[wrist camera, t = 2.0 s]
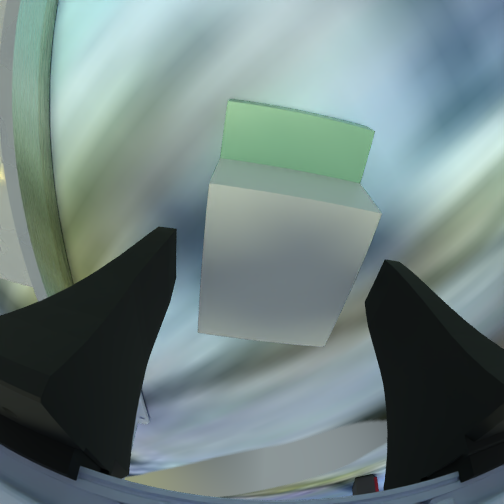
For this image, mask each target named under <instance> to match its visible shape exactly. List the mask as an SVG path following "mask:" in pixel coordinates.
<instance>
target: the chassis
mask: <svg viewBox="0 0 504 504" xmlns="http://www.w3.org/2000/svg"><path fill="white" fill-rule="evenodd" d="M57 5H58V0H0V278H2V279H5V280H9V281H12V282H16V283H19V284H23V285H26V286H30V287H33V289H34V292H35V294H36V297H37V300H38V302H39V301H41V300H43V299H46V298H48V297H50V296H52V295H54V294H56V293H58V292H60V291H62V290H64V289H66V288H68V287H70V286H72V285H73V281H72V277H71V273H70V269H69V265H68V261H67V256H66V252H65V247H64V242H63V237H62V232H61V226H60V221H59V215H58V209H57V202H56V195H55V187H54V178H53V169H52V158H51V143H50V120H49V88H50V65H51V51H52V41H53V32H54V24H55V17H56V11H57Z"/></svg>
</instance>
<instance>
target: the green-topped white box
mask: <svg viewBox="0 0 504 504" xmlns="http://www.w3.org/2000/svg"><path fill="white" fill-rule="evenodd" d="M374 133H375V131H373V130H372V129H370V128H369V127H366V126H363V125H359V124H356V123H352V122H348V121H344V120H340V119H336V118H332V117H328V116H324V115H319V114H315V113H310V112H306V111H301V110H296V109H291V108H286V107H280V106H275V105H269V104H263V103H256V102H250V101H243V100H235V99H230V100H229V101H228V104H227V111H226V118H225V125H224V132H223V140H222V147H221V155H220V159H219V162H218V164H217V166H216V169H215V171H214V173H213V176H212V178H211V180H210V183H209V190H208V200H207V210H206V221H205V232H204V244H203V256H202V270H201V284H200V300H199V317H198V333H203V334H210V335H217V336H224V337H231V338H239V339H247V340H255V341H264V342H273V343H283V344H293V345H305V346H317V347H324V346H325V344H326V342H327V340H328V338H329V336H330V334H331V332H332V329H333V327H334V325H335V323H336V321H337V319H338V317H339V315H340V313H341V311H342V309H343V306H344V304H345V302H346V300H347V298H348V295H349V293H350V291H351V289H352V286H353V284H354V282H355V280H356V277H357V275H358V273H359V270H360V268H361V266H362V263H363V261H364V258H365V256H366V254H367V251H368V249H369V246H370V244H371V241H372V239H373V236H374V233H375V231H376V228H377V226H378V223H379V220H380V218H381V215H382V213H381V212H380V210H379V209H378V207H377V206H376V205H375V203H374V202H373V200H372V199H371V198H370V196H369V195H368V194H367V192H366V191H365V190H364V188H363V187H362V186H361V184H360V182H361V178H362V175H363V172H364V168H365V165H366V162H367V158H368V155H369V151H370V147H371V144H372V140H373V137H374Z"/></svg>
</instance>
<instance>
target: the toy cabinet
mask: <svg viewBox="0 0 504 504" xmlns="http://www.w3.org/2000/svg"><path fill="white" fill-rule="evenodd" d="M352 491H353V496H354V495H361V494H368V493H374V492H379V489H378V482H377V477H374V475H373V474H372V475H367V476H362V477H357V478H355V482H354V485H353V488H352Z"/></svg>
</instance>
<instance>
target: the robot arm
mask: <svg viewBox="0 0 504 504" xmlns="http://www.w3.org/2000/svg"><path fill="white" fill-rule="evenodd" d="M176 231H177V229H173V228H166V227H157V228H156V229H155V230H153V231H152V232H151V233H149V234H148V235H147V236H145V237H144V238H143V239H141V240H140V241H139V242H137V243H136V244H135V245H133V246H132V247H131V248H129V249H128V250H127V251H125V252H124V253H122V254H121V255H120V256H118V257H117V258H115V259H114V260H112V261H111V262H109V263H108V264H106V265H105V266H103V267H102V268H101V269H99V270H98V271H96V272H94V273H93V274H91V275H90V276H88V277H86V278H85V279H83V280H81V281H79V282H77V283H76V284H74V285H72V286H70V287H68V288H66V289H64V290H62V291H60V292H58V293H56V294H54V295H52V296H50V297H48V298H46V299H43V300H41V301H39V302H36V303H34V304H32V305H29V306H27V307H24V308H21V309H19V310H16V311H13V312H10V313H7V314H4V315H1V316H0V504H504V349H503V348H501V347H500V346H498V345H497V344H495V343H494V342H492V341H491V340H489V339H488V338H487V337H485V336H484V335H483V334H481V333H480V332H479V331H477V330H476V329H475V328H474V327H472V326H471V325H470V324H469V323H467V322H466V321H465V320H464V319H463V318H462V317H460V316H459V315H458V314H457V313H456V312H455V311H454V310H453V309H451V308H450V307H449V306H448V305H447V304H446V303H445V302H444V301H443V300H442V299H441V298H440V297H438V296H437V295H436V294H435V293H434V292H433V291H432V290H431V289H430V288H429V287H428V286H427V285H426V284H425V283H424V282H423V281H421V280H420V279H419V278H418V277H417V276H416V275H415V274H414V273H413V272H411V271H410V270H409V269H408V268H407V267H405V266H404V265H403V264H401V263H400V262H397V261H391V260H384V262H383V265H382V267H381V269H380V271H379V273H378V275H377V278H376V280H375V282H374V284H373V286H372V288H371V290H370V292H369V294H368V296H367V298H366V300H365V308H366V316H367V322H368V328H369V331H370V335H371V339H372V342H373V346H374V350H375V353H376V357H377V360H378V364H379V368H380V372H381V376H382V380H383V385H384V392H385V401H386V411H387V429H388V438H387V463H386V474H385V482H384V491H379V492H374V493H368V494H361V495H354V496H346V497H337V498H326V499H312V500H280V501H276V500H244V499H230V498H219V497H210V496H202V495H195V494H188V493H181V492H176V491H170V490H165V489H160V488H156V487H151V486H147V485H143V484H138V483H134V482H130V481H127V480H124V479H125V477H126V476H127V475H129V468H130V458H131V450H132V446H133V442H134V437H135V433H136V429H137V425H138V423H141V424H149V421H150V420H149V417H148V413H147V410H146V407H145V403H144V400H143V396H142V393H141V389H142V384H143V380H144V375H145V371H146V367H147V363H148V360H149V357H150V354H151V351H152V348H153V346H154V343H155V340H156V338H157V335H158V332H159V330H160V327H161V325H162V322H163V319H164V317H165V314H166V311H167V309H168V306H169V303H170V300H171V296H172V292H173V288H174V284H175V280H176Z"/></svg>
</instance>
